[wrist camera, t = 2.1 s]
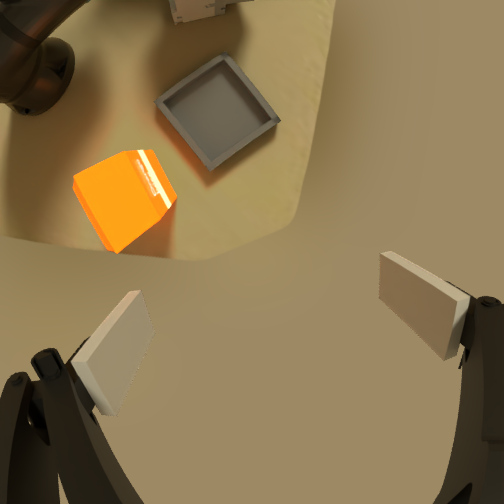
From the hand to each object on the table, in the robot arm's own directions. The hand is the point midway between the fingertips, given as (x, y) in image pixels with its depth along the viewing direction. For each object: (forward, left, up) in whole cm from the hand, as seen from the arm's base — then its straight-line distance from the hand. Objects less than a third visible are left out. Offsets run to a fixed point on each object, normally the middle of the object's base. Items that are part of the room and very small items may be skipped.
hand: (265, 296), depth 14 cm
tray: (-12, +6, -31) cm, 34 cm away
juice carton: (-10, -10, -31) cm, 34 cm away
